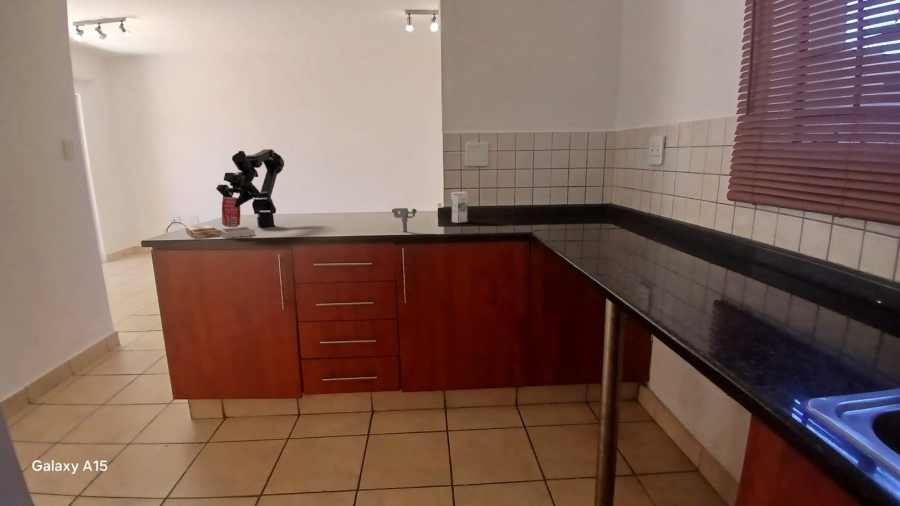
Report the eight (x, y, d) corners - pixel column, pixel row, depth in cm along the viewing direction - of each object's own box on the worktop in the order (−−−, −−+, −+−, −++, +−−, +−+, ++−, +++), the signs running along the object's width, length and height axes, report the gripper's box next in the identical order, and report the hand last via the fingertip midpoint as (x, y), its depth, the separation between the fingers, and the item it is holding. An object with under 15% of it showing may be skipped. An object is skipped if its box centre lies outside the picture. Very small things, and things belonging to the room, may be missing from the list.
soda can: (231, 224, 202) (231, 196, 199) (243, 226, 199) (244, 198, 197) (217, 225, 195) (218, 197, 193) (230, 228, 193) (230, 199, 191)
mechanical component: (415, 232, 195) (414, 209, 193) (392, 232, 197) (391, 208, 195) (417, 231, 198) (416, 208, 196) (394, 231, 200) (393, 208, 198)
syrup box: (461, 220, 228) (460, 191, 225) (468, 222, 223) (467, 191, 220) (451, 222, 225) (450, 191, 222) (458, 223, 220) (457, 192, 217)
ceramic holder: (248, 231, 206) (247, 226, 205) (255, 235, 197) (254, 229, 196) (219, 234, 199) (218, 229, 199) (225, 238, 190) (224, 232, 190)
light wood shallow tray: (210, 230, 212) (210, 224, 212) (219, 235, 197) (219, 229, 196) (186, 232, 207) (185, 227, 206) (194, 238, 191) (193, 232, 191)
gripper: (216, 165, 198) (198, 194, 191) (251, 165, 192) (234, 194, 185) (233, 182, 207) (216, 210, 200) (267, 183, 201) (251, 211, 194)
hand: (229, 206), depth 194 cm, fingers closed on soda can, 6 cm apart
